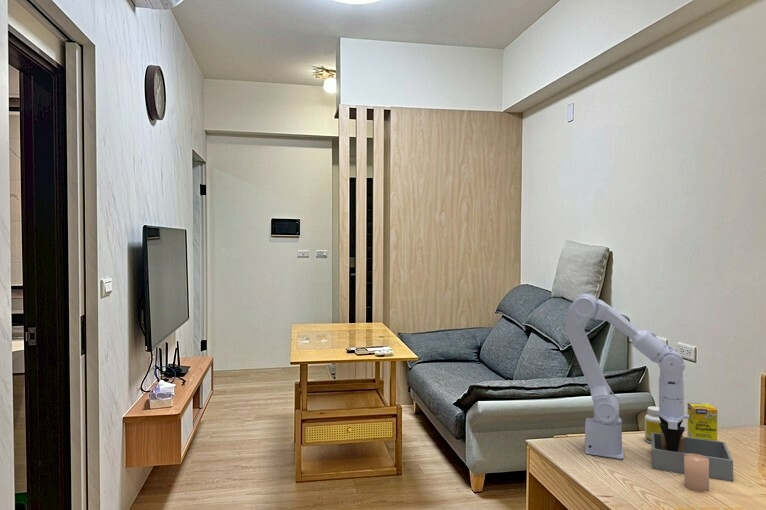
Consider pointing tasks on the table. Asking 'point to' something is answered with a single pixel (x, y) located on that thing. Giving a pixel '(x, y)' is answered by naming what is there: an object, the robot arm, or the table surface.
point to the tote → (709, 448)
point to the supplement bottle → (652, 423)
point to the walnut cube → (680, 447)
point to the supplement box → (702, 421)
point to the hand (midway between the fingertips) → (671, 448)
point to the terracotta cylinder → (696, 472)
